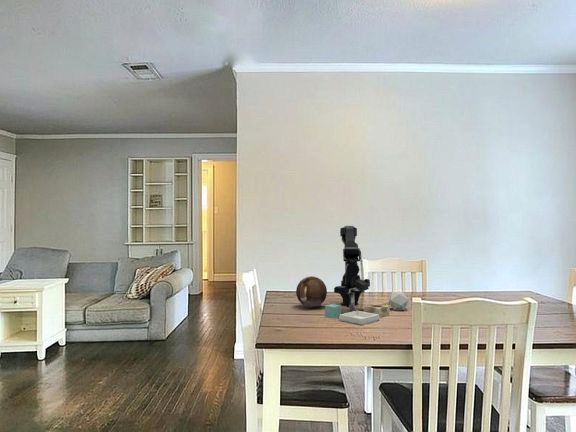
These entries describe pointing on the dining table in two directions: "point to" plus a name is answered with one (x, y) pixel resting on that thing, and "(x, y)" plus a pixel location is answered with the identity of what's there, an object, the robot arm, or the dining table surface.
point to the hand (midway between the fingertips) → (351, 306)
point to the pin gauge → (352, 303)
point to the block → (332, 310)
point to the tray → (359, 317)
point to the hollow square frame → (377, 309)
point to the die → (398, 301)
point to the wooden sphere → (311, 291)
